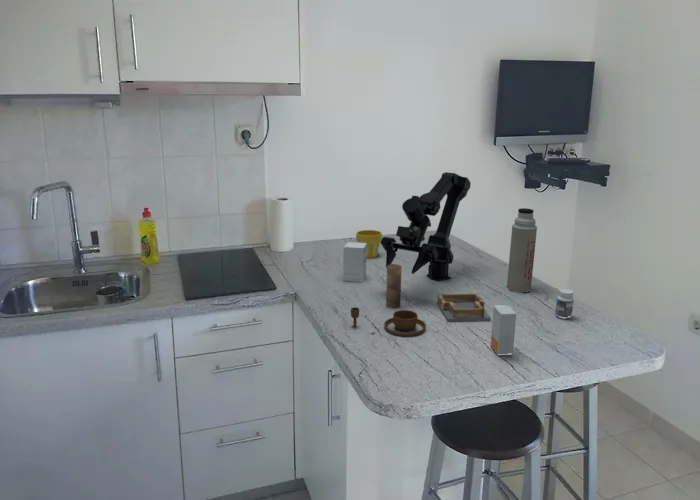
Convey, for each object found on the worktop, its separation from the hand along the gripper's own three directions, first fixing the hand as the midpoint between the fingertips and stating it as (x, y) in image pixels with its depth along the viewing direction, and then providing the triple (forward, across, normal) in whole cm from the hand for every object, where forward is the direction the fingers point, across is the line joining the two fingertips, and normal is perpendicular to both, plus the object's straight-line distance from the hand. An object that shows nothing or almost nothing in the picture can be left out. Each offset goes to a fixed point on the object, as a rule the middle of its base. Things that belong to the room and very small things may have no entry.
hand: (399, 270), depth 185 cm
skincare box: (+19, +40, -3) cm, 44 cm away
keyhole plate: (+5, +20, +10) cm, 23 cm away
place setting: (+20, +8, -4) cm, 22 cm away
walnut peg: (+10, 0, +5) cm, 11 cm away
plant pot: (-20, -35, +35) cm, 54 cm away
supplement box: (-1, -24, +16) cm, 29 cm away
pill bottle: (-5, +47, +20) cm, 52 cm away
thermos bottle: (-17, +28, +32) cm, 46 cm away
